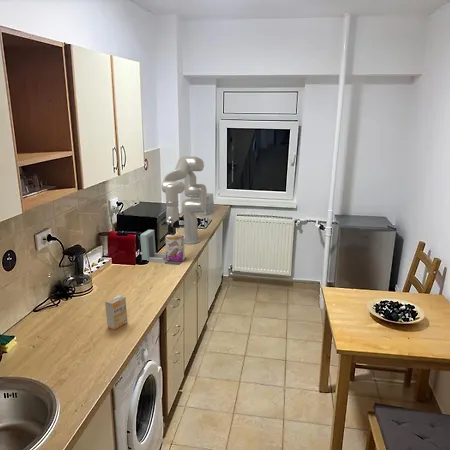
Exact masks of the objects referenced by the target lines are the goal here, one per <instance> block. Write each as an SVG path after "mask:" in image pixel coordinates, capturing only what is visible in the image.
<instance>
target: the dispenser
mask: <svg viewBox="0 0 450 450" xmlns="http://www.w3.org/2000/svg"><path fill="white" fill-rule="evenodd" d="M155 237H156V236H155V229H147V230H146V231H144V232H142V233H140V236H139V238H140V247H141V248H140V249H141V250H140V251H141V261H142V260H147V261H150V262H151V263H152V262H153V263H163V264H165V263H166V262H167V261H166V253H163V252H162V253H160V252H157V250H156V240H155V239H156V238H155Z"/></svg>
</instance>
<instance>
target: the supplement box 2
mask: <svg viewBox="0 0 450 450" xmlns="http://www.w3.org/2000/svg"><path fill="white" fill-rule="evenodd" d="M190 199H200V198H199V197H190ZM214 208H215V207H214V193H209V192H207V206H206V211H205V212H204V213H194V214H195V215H201V216H208V215H211V214H213V213H214V212H215V210H214Z"/></svg>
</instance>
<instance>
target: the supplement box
mask: <svg viewBox="0 0 450 450" xmlns="http://www.w3.org/2000/svg"><path fill="white" fill-rule="evenodd" d="M126 299H127V298H126V296H125V295H120V294H117V295H115V296H113V297H111V298H109V299H107V300H105V301H104V305H105V306H104V307H105V315H106V323H107V328H108V329H111V330H113V331H115V330H117V329H119V328H120V327H122V326H123V325H124V326H125V324H127V323H128V313H127V301H126Z"/></svg>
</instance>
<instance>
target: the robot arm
mask: <svg viewBox="0 0 450 450" xmlns="http://www.w3.org/2000/svg"><path fill="white" fill-rule="evenodd" d="M204 167H205V162H204V160H203V159H202V158H200V157H197V156H181V157H180V158H179V159H178V160H177V163H176V166H175V168H174V170H172V171H170V172H169V173H167V174H166V175H165V176H164V178H163V180H162V183H161V191H162V192H163V193H164V194H165V205H166V211H165V212H166V213H165V215H166V216H165V217H166V219H165V220H166V224H167V232H168V233H169V234H170V233H171V234H173V233H174V228H175V229H179V228H180V212H179V211H180V210H179V204H180V203H179V194H182V193H183V192H184V196H185V197H187V199H184V200H183V201H182V202H181V207H182V209H181V210H182V212H183V227H184V230H183V231H184V244H187V245H193V244H194V245H195V244H198V243H200V242H201V239H200V238H199V232H198V231H199V230H198V217H197V214H194V213H204V212H205V211H206V206H207V193H208V192H207V187H206V185H205V184H203V183H197V175H196V173H195V172H202V171H203V170H204ZM181 180H183V181H184V182H183V181H181ZM191 197H199V198H200V199H191Z"/></svg>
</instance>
